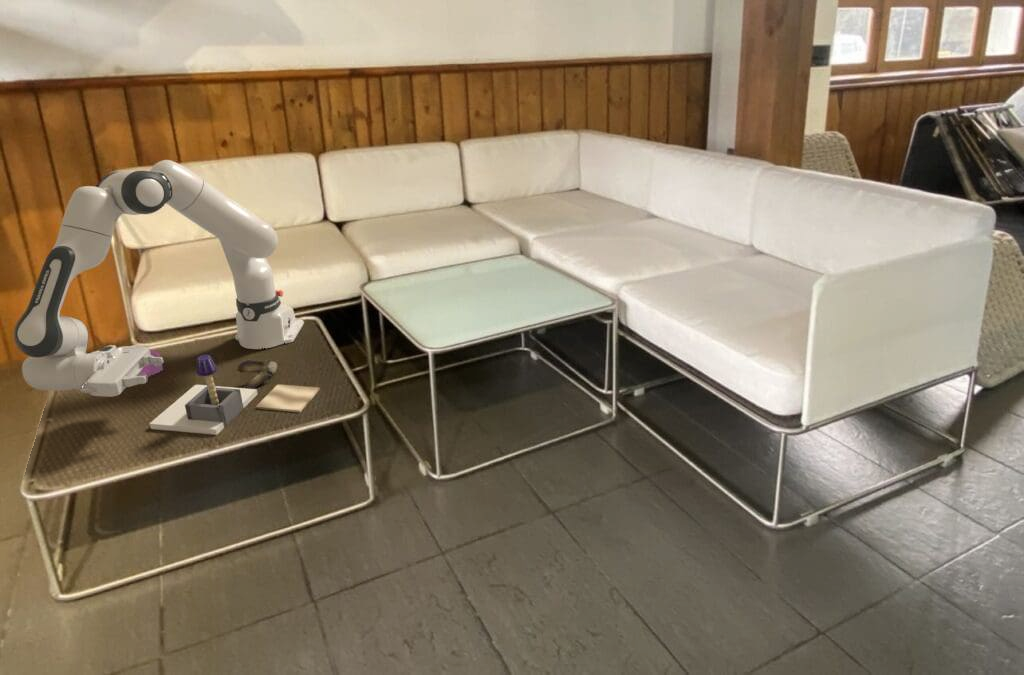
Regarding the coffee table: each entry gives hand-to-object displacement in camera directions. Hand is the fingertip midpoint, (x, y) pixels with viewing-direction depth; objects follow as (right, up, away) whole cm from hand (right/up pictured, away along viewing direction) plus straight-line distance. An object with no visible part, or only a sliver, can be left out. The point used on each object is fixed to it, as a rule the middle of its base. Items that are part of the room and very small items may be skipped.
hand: (154, 370), depth 181 cm
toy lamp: (+13, -12, +6) cm, 19 cm away
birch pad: (+29, -8, +14) cm, 33 cm away
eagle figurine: (+18, -4, +23) cm, 30 cm away
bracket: (-18, -4, +27) cm, 32 cm away
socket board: (+9, -11, +9) cm, 17 cm away
